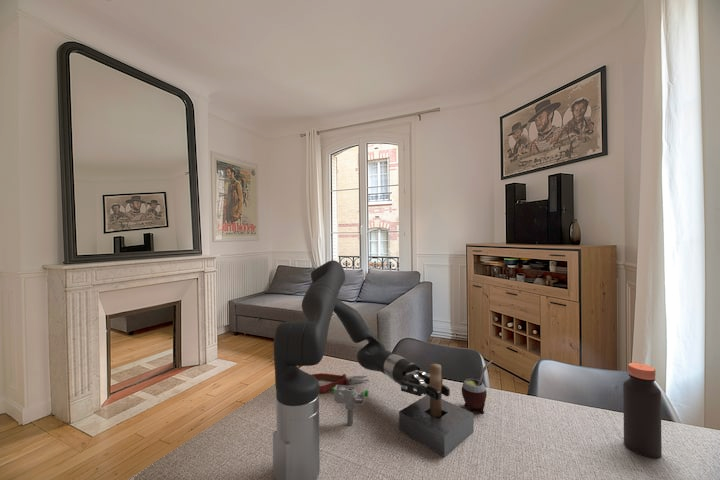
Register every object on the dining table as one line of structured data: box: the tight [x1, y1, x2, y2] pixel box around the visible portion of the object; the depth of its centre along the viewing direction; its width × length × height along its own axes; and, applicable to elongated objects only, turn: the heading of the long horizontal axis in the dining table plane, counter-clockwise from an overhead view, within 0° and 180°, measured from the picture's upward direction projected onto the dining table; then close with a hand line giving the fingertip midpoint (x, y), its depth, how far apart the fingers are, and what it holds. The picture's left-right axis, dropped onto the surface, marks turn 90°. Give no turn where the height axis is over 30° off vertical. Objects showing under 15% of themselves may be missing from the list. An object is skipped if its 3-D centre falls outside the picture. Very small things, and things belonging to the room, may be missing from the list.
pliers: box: [311, 372, 370, 395], centre depth 108 cm, size 12×21×3 cm, turn 103°
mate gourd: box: [461, 359, 494, 415], centre depth 92 cm, size 8×8×15 cm
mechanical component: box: [331, 385, 369, 427], centre depth 84 cm, size 3×10×10 cm, turn 79°
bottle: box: [622, 362, 663, 459], centre depth 74 cm, size 7×7×20 cm
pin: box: [429, 363, 443, 419], centre depth 81 cm, size 3×3×16 cm
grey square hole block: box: [398, 395, 475, 458], centre depth 81 cm, size 14×14×5 cm
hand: (443, 394), depth 79 cm, fingers closed on pin, 3 cm apart
